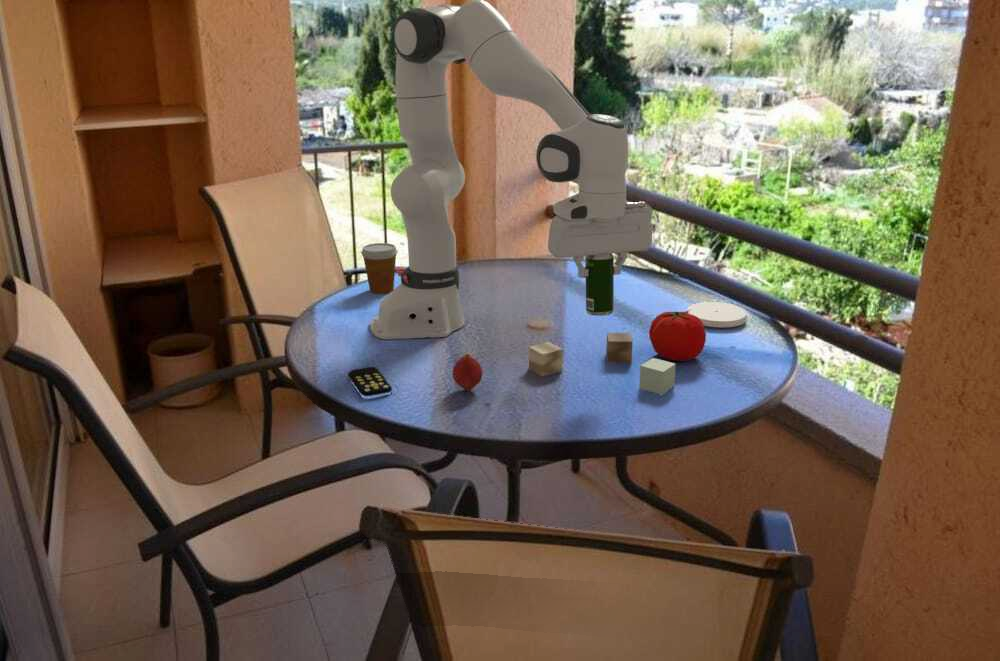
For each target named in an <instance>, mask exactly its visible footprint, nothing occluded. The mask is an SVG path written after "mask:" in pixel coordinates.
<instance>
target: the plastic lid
mask: <svg viewBox="0 0 1000 661" xmlns="http://www.w3.org/2000/svg"><path fill="white" fill-rule="evenodd" d="M691 309H692V310H691ZM689 310H690V311H689ZM686 311H688V313H689V314H691V315H694V316H696V317H698V318H699V319H700V320H701V321H702V322H703V326H704V327H709V328H710V327H711V328H721V329H722V328H734V327H738V326H741V325H743V324H745V323H746V321H747V316H748V313H747V311H746V310H745V308H742V307H741V306H738V305H735V304H730V303H727V302H726V303H725V302H718V301H713V302H712V301H706V302H705V301H703V302H697V303H693V304H691V305H689V306H687V308H686Z"/></svg>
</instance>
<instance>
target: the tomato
mask: <svg viewBox="0 0 1000 661" xmlns="http://www.w3.org/2000/svg"><path fill="white" fill-rule="evenodd" d="M691 310H692V309H691ZM689 311H690V310H689ZM649 327H650V328H649V331H648V333H649V340H650V343H651V346H652V347H653V350H654V351H655V352H656V354H658V355H659V356H661V357H663V358H665V359H666V360H671V361H686V362H687V361H690V360H694V359H695V358H697V357H698V356H699V355H700V354H701V353H702V352H703V350H704V348H705V344H706V339H707V333H706V329H705V325H703V322H702V321H701V320H700V319H699V318H698V317H696V316H694V315H691V314H689V313H688V311H687V310H686V311H664V312H662V313H660V314H658V315H656V317H654V319H653V320H652V321H651V324H650V326H649Z"/></svg>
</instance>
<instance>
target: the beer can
mask: <svg viewBox="0 0 1000 661" xmlns="http://www.w3.org/2000/svg"><path fill="white" fill-rule="evenodd" d="M584 260H585V261H584V262H585V266H584V267H586V268H588V269H589V273H588V275H589V276H588V277H587V278H585V311H586V312H587V314H588V315H590V316H597V317H598V316H599V317H601V316H608V315H612V314H613V312H614V310H615V308H614V303H615V302H614V300H615V299H614V297H615V296H614V295H615V293H614V288H615V287H614V285H615V284H614V277H615V275H614V263H615V262H614V260H615V259H614V255H613V253H606V254H597V255H588V256H584Z"/></svg>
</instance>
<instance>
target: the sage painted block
mask: <svg viewBox="0 0 1000 661" xmlns="http://www.w3.org/2000/svg"><path fill="white" fill-rule="evenodd" d="M639 371H640V372H639V386H638V388H640V390H642V389H644V390H643V391H646V390H648V391H647V392H649V391H651V392H650V393H653V392H655V393H654V394H656V393H659V394H658V395H660V394H663V393H664V394H666V393H667V392H668V391H667V390H669V389H670V388H671V387H673V386H674V387H675V380H676V363H674V362H670V361H667V360H662V359H658V358H654V357H652V358H650V359H648V360H647V361H646V362H644V363H643V364H640V367H639ZM674 387H673V388H674ZM671 389H672V388H671ZM671 389H670V390H671ZM670 390H669V391H670ZM666 391H667V392H666ZM665 392H666V393H665ZM664 394H663V395H664Z"/></svg>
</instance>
